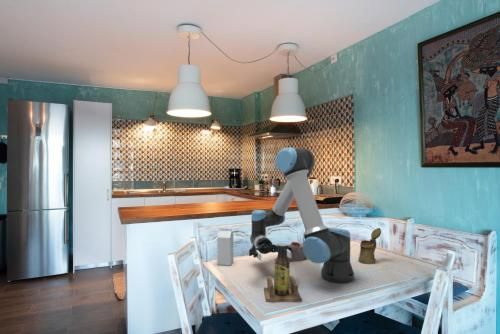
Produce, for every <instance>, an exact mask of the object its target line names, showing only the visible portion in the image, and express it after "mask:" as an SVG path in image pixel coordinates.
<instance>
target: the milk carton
mask: <svg viewBox="0 0 500 334" xmlns="http://www.w3.org/2000/svg"><path fill="white" fill-rule="evenodd" d="M216 237H217V238H216V240H217V242H216V243H217V245H216V249H217V251H216V253H217V255H216V256H217V259H216V261H217V266H226V267H227V266H231V265H232V264H233V263H234V233H233V229H232V228H218V233H217V236H216Z"/></svg>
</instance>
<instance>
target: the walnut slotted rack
mask: <svg viewBox="0 0 500 334" xmlns="http://www.w3.org/2000/svg"><path fill="white" fill-rule="evenodd" d="M266 278H267V279H266V282H267V283H266V284H267V287H263V293H264V299H265V302H266V303H281V302H302V301H303V298H302V296H301V294H300V291H299V285H298V283H297V281H296V278H295V277H294V275H290V277H289V293H288V294H287V295H278V294H276V293H275V292H274V281H273V280H272V276H271V275H267V276H266Z"/></svg>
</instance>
